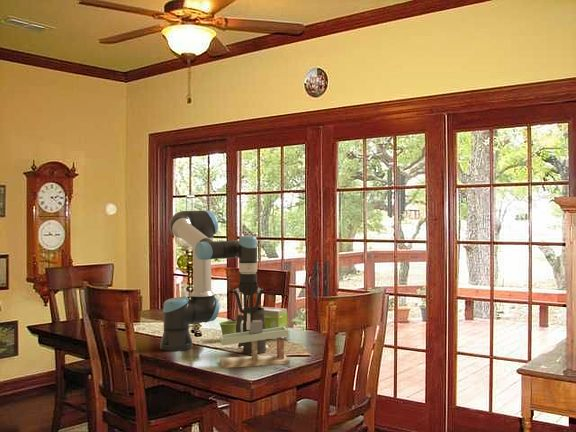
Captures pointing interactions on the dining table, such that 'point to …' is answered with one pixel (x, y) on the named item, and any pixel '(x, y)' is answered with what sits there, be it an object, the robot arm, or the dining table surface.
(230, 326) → the plant pot
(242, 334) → the beam
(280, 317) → the tea box
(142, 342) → the dining table surface
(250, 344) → the beer stein
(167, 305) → the robot arm
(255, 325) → the block
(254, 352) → the beam stand
